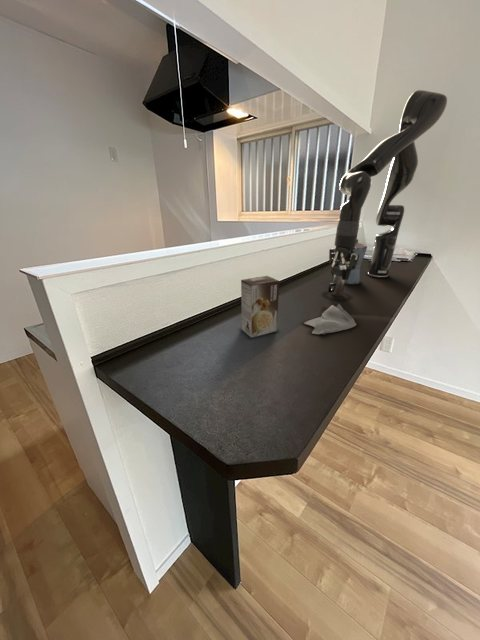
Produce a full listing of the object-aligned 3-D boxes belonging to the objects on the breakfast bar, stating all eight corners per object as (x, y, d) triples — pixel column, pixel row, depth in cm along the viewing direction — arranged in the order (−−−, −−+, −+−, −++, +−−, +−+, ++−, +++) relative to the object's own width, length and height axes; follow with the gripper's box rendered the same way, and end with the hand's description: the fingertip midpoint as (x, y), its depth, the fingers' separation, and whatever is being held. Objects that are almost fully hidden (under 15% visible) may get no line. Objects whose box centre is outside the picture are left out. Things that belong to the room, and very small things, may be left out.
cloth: (338, 342, 74) (339, 335, 73) (295, 327, 82) (296, 321, 81) (369, 314, 91) (370, 308, 90) (331, 304, 100) (332, 298, 99)
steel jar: (337, 291, 111) (341, 265, 106) (346, 295, 106) (351, 268, 102) (323, 293, 108) (327, 267, 103) (332, 298, 103) (336, 270, 99)
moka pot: (337, 286, 120) (344, 240, 111) (339, 277, 132) (345, 235, 124) (359, 288, 116) (369, 242, 108) (359, 279, 129) (367, 237, 121)
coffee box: (265, 323, 85) (268, 274, 78) (277, 331, 80) (280, 280, 73) (240, 329, 81) (240, 279, 74) (251, 338, 76) (251, 285, 69)
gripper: (369, 235, 92) (360, 281, 100) (341, 230, 105) (334, 272, 112) (353, 236, 90) (344, 284, 97) (325, 231, 102) (320, 274, 109)
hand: (339, 277), depth 104 cm, fingers closed on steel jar, 5 cm apart
